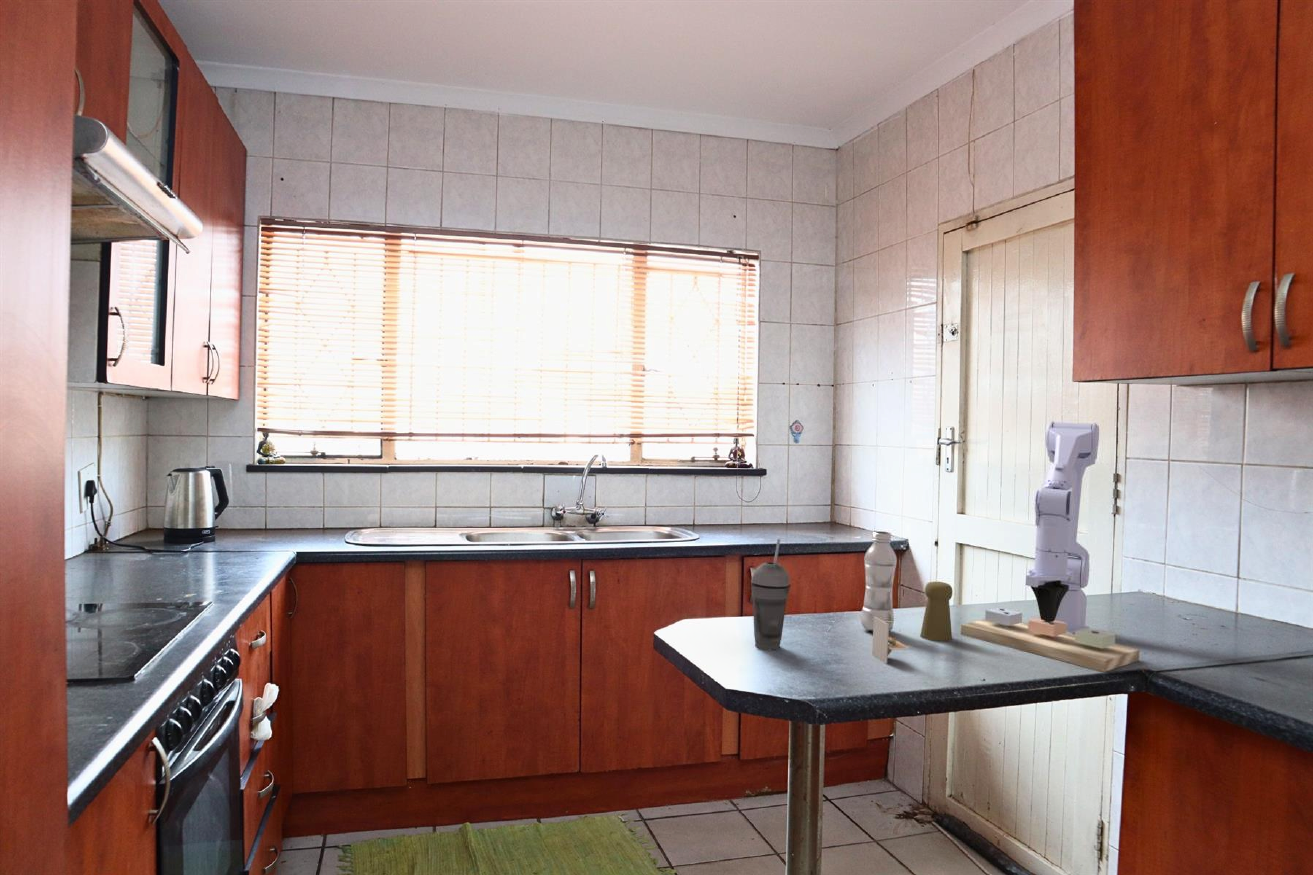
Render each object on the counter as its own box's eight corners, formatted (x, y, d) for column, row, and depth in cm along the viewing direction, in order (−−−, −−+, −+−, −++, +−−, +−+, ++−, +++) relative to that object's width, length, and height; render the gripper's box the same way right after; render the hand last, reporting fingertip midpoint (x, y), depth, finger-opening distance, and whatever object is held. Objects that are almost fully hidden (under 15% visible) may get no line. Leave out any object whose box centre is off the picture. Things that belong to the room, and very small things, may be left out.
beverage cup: (755, 638, 158) (760, 533, 157) (792, 645, 154) (797, 538, 154) (741, 647, 151) (747, 538, 150) (780, 654, 148) (785, 542, 147)
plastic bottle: (857, 632, 166) (863, 532, 165) (862, 625, 172) (867, 529, 171) (891, 637, 163) (896, 536, 162) (895, 629, 169) (900, 532, 169)
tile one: (1087, 638, 158) (1087, 626, 158) (1114, 644, 154) (1115, 633, 154) (1074, 641, 155) (1075, 630, 154) (1102, 648, 151) (1103, 636, 150)
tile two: (998, 617, 172) (999, 606, 172) (1021, 622, 168) (1022, 612, 168) (985, 619, 169) (985, 609, 169) (1008, 625, 165) (1009, 614, 165)
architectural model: (888, 656, 151) (890, 616, 151) (907, 668, 144) (909, 626, 144) (871, 657, 151) (873, 616, 150) (889, 668, 144) (891, 626, 144)
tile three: (1040, 627, 165) (1041, 616, 165) (1066, 633, 161) (1066, 622, 161) (1027, 630, 162) (1028, 619, 162) (1053, 636, 158) (1053, 625, 158)
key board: (998, 625, 177) (998, 616, 177) (1138, 660, 154) (1139, 649, 154) (960, 634, 168) (961, 624, 168) (1104, 671, 146) (1104, 660, 146)
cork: (954, 642, 161) (957, 586, 161) (921, 639, 162) (925, 584, 162) (949, 635, 167) (952, 580, 167) (918, 632, 168) (921, 578, 168)
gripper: (1050, 545, 168) (1046, 611, 169) (1012, 549, 159) (1008, 619, 160) (1085, 550, 163) (1081, 619, 163) (1048, 555, 154) (1044, 628, 154)
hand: (1047, 620), depth 161 cm, fingers closed
